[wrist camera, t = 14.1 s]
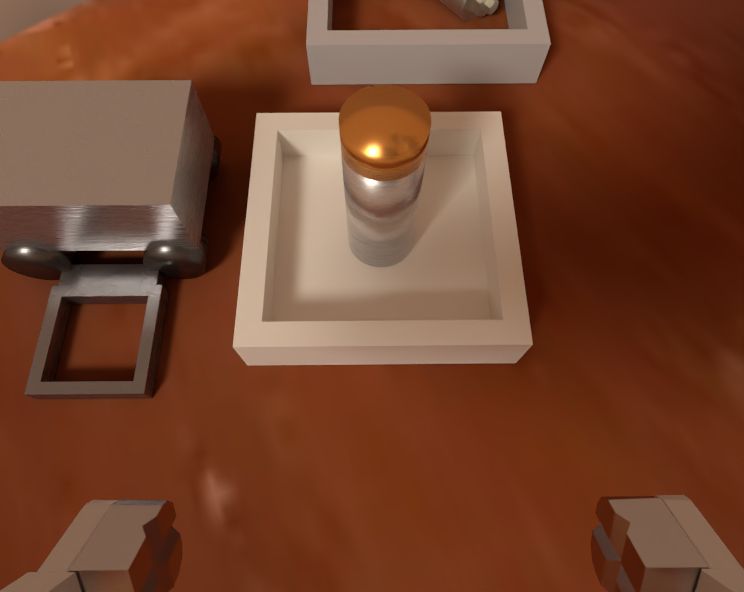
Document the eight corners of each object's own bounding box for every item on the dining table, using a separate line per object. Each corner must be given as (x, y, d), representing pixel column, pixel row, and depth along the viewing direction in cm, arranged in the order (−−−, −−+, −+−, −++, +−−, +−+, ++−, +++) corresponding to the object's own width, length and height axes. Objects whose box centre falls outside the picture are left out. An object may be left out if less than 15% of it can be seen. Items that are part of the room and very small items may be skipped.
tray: (489, 147, 31) (500, 111, 28) (515, 363, 26) (533, 344, 23) (266, 148, 31) (256, 113, 28) (247, 365, 26) (232, 347, 23)
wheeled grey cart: (227, 160, 31) (192, 73, 25) (197, 397, 25) (143, 360, 19) (58, 161, 31) (-17, 75, 25) (-9, 399, 25) (-128, 362, 19)
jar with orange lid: (412, 210, 28) (428, 83, 20) (414, 267, 27) (434, 156, 19) (348, 210, 28) (339, 84, 20) (347, 267, 27) (337, 157, 19)
